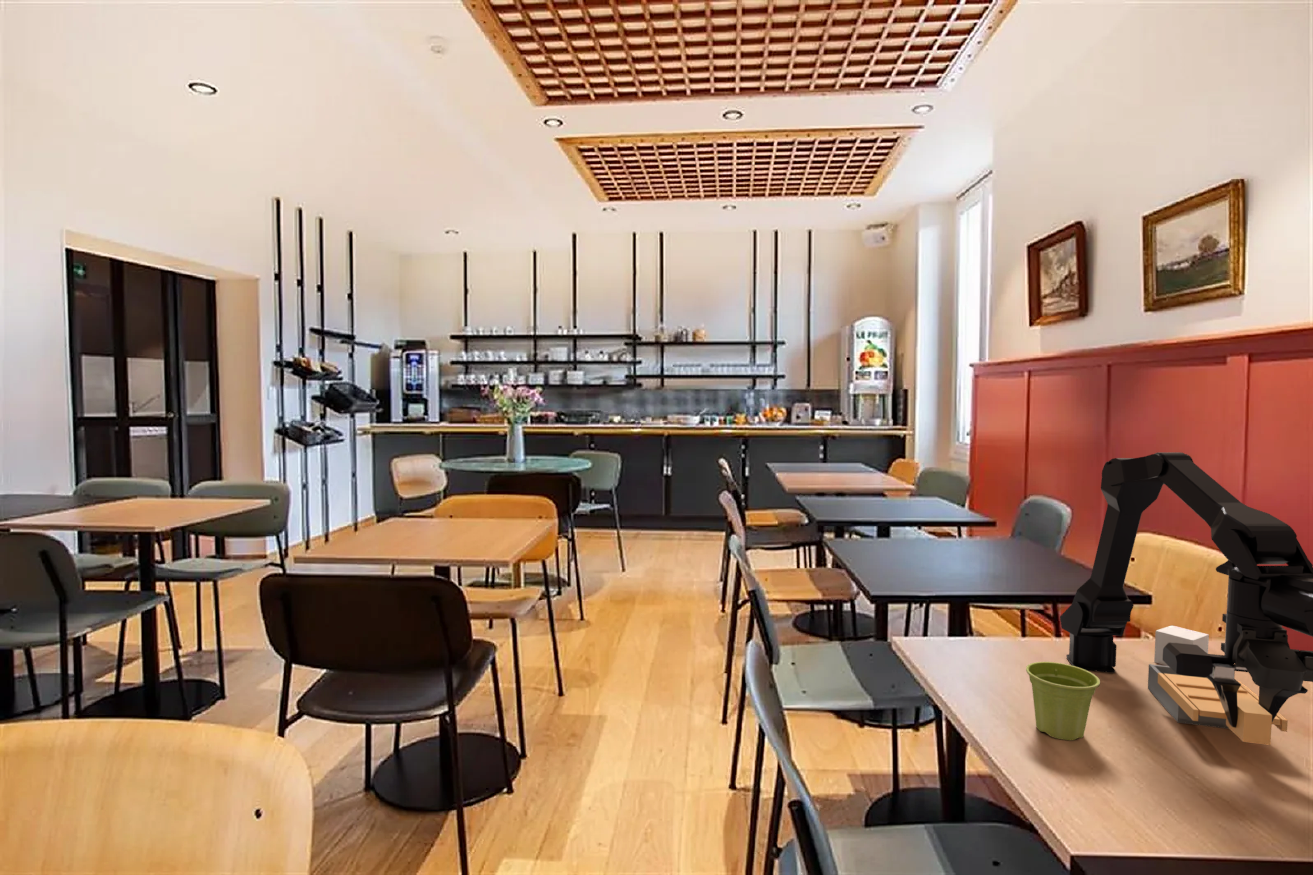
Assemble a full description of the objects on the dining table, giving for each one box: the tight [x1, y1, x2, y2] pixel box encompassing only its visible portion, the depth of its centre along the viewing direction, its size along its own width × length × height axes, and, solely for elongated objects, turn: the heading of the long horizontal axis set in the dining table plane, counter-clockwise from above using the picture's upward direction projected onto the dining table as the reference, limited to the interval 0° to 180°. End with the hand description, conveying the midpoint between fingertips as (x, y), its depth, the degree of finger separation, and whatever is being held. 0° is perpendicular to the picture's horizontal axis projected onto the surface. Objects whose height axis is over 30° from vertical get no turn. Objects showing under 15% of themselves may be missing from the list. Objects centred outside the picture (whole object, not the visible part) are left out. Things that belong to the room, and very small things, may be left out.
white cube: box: [1153, 625, 1210, 666], centre depth 131 cm, size 6×6×6 cm
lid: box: [1158, 673, 1289, 746], centre depth 103 cm, size 11×19×4 cm, turn 162°
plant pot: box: [1025, 661, 1101, 741], centre depth 105 cm, size 9×9×9 cm
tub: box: [1147, 663, 1230, 730], centre depth 112 cm, size 9×13×4 cm
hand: (1247, 728), depth 96 cm, fingers closed on lid, 3 cm apart
